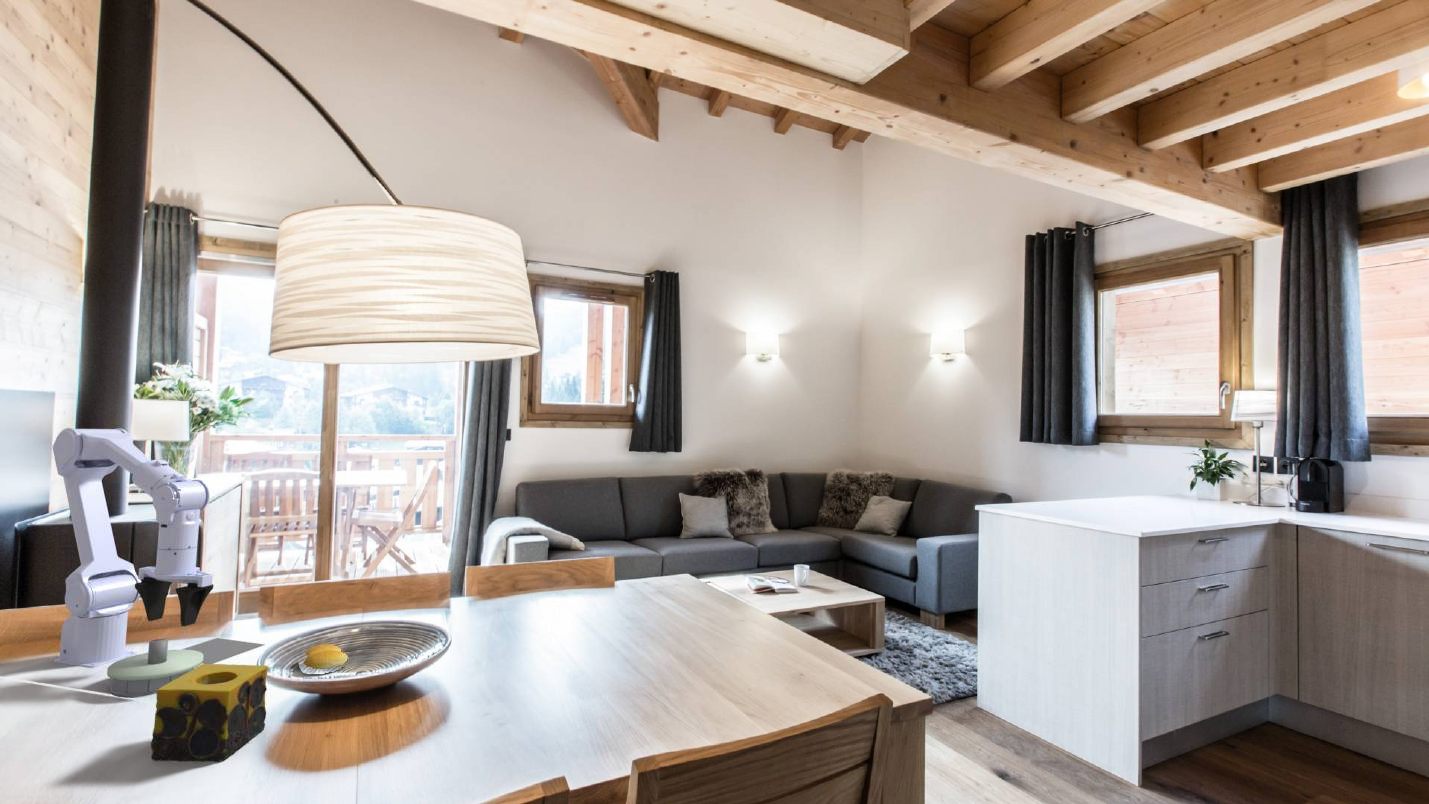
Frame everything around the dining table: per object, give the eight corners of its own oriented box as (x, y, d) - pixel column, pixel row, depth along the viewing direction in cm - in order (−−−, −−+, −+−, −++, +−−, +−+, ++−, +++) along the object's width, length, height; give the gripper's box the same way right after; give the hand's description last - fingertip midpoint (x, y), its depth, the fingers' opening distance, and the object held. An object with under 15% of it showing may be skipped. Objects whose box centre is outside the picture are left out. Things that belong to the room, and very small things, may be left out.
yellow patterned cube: (197, 729, 103) (202, 662, 104) (266, 729, 104) (271, 664, 105) (147, 762, 93) (152, 688, 94) (224, 763, 94) (229, 690, 94)
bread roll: (303, 680, 124) (304, 658, 124) (294, 665, 131) (295, 644, 131) (353, 671, 129) (354, 649, 130) (342, 657, 136) (343, 637, 136)
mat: (159, 658, 130) (159, 656, 130) (216, 639, 142) (216, 637, 142) (210, 666, 128) (210, 664, 128) (265, 646, 140) (265, 644, 140)
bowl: (93, 692, 114) (94, 674, 114) (158, 670, 125) (160, 653, 125) (145, 701, 112) (147, 682, 112) (208, 677, 122) (209, 660, 123)
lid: (86, 675, 114) (88, 648, 114) (162, 650, 126) (164, 626, 127) (150, 684, 111) (152, 657, 111) (221, 658, 124) (223, 634, 124)
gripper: (229, 547, 126) (224, 620, 126) (168, 540, 130) (162, 611, 129) (193, 553, 119) (187, 631, 119) (128, 546, 123) (122, 621, 122)
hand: (171, 622), depth 124 cm, fingers open, 7 cm apart
